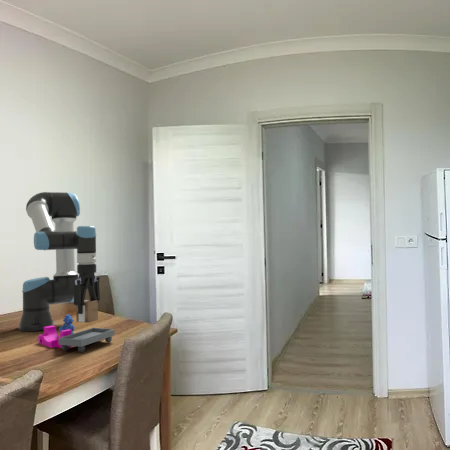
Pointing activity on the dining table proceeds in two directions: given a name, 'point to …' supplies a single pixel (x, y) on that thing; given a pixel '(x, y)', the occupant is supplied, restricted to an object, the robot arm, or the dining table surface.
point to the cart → (85, 338)
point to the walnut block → (89, 311)
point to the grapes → (67, 324)
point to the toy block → (52, 336)
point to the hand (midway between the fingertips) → (87, 320)
